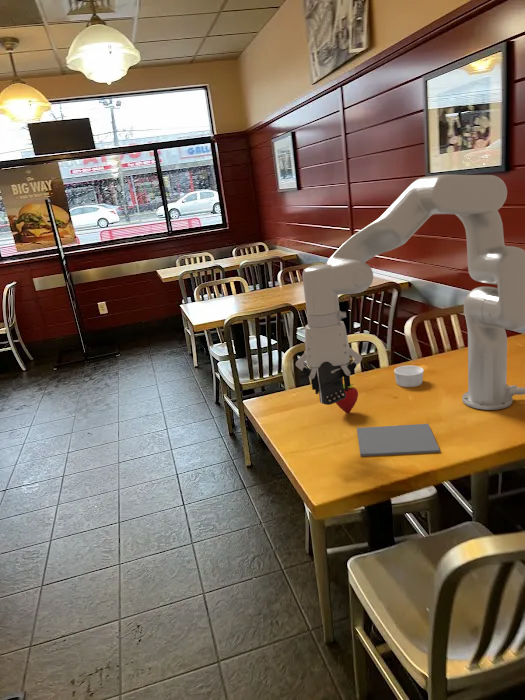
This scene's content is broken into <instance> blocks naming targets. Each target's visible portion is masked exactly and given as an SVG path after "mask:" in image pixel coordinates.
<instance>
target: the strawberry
mask: <svg viewBox="0 0 525 700" xmlns="http://www.w3.org/2000/svg"><path fill="white" fill-rule="evenodd" d="M343 387H344V391H345V386H344V383H343ZM345 394H346V398H344V399H342V400H340V401H338V402H336V403H335V404H336V405H337V406H338V408H339V409H340V410H342V411H343V412H344V413H345V414H349V413H351V411H352V410H353V408H354V407H355V405H356V403H357V401H358V399H359V398H358V397H359V393H358V389H357V388H356V387H355V386H354V383H350V387H348V391H347V392H346V391H345Z"/></svg>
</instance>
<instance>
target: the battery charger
mask: <svg viewBox="0 0 525 700" xmlns="http://www.w3.org/2000/svg"><path fill="white" fill-rule="evenodd" d="M316 375H317V383H318V389H319V393H318V395H319V402H320V403H321V404H323V405H332V404H333V405H334V404H336V402H338V401H340V400H342V399H344V398H346V394H345V391H344V387H343V384H344V376H343V375H344V371H343V369H342V368H341V366H333V365H332V364H331V363H330V362H323V363H322V364H321V365H320V367H319V368H317V371H316Z"/></svg>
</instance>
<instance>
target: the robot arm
mask: <svg viewBox="0 0 525 700" xmlns="http://www.w3.org/2000/svg"><path fill="white" fill-rule="evenodd" d="M507 195H508V188H507V185H506V183H505V182H504V180H503V179H502V178H500V177H498V176H496V175H493V174H436V175H429V176H423V177H419V178H417V179H415V180H414V181H413V182H411V184H409V186H408V187H407V188H406V189H405V190H403V192H402V193H401V194H400V195H399V196H398V197H397V198H396V199H395V200H394V201H393V202H392V204H390V206H389V207H388V208H386V210H385V211H384V212H383V213H382V214H381V215H380V216H379V217H378V218H376V220H374V221H373V222H370V224H368V225H367V226H365V227H364V228H362V229H361V230H360V231H357V232H356V233H355V234H353V235H352V236H350V237H349V238H348V239H347V240H346V241H345V242H344V243H342V244H341V246H340V247H339V248H337V250H336V251H335V252H334V253H333V254H332V255H331V256H330V257H329V259H328V260H327V261H326V263H325V264H317V265H315V264H314V265H312V266H308V267H306V268H304V270H303V271H302V282H303V283H302V284H303V293H304V302H305V309H306V310H305V311H306V317H307V324H306V325H305V328H304V345H305V351H304V352H303V354H302V355H301V356H300V357H299V358H298V360H296V362H295V368H296V367H297V368H298V369H299V370H300V371H302V372H303V374H305V375H306V376H308V377H309V379H310V381H311V388H312V389H311V391H315V392H314V393H315V395H319V389H318V383H317V375H316V371H317V368H319V367H320V365H321V364H322V363H323V362H330V363H331V364H332V365H333V366H341V368H342V369H343V371H344V375H343V384H344V386H345V391H346V392H347V391H348V387H350V384H351V379H350V378H351V377H350V375H351V373H353V371H354V370H355V369H356V368H357V366H358V365H359V364H360V363H361V362H362V361H363V357H362V355H361V354H360V353H358V352H356V351H355V350H354V349H352V347H350V346H349V339H348V332H347V328H346V325H345V323H344V321H343V320H342V319H345V318H347V312H346V311H341V310H340V305H339V304H340V303H339V295H351V294H359V293H360V294H361V293H363V292H364V291H365V292H366V290H367V289H369V288H370V287H371V285H372V284H373V280H374V271H373V269H372V267H371V266H370V265H369V264H367V263H366V262H367V261H370V260H371V259H373V258H374V257H376V256H378V255H380V254H383V253H387V252H390V251H392V250H395V249H397V248H399V247H401V246H403V245H405V244H406V243H407V242H408V241H409V239H411V237H413V235H414V234H415V233H416V232H417V231H418V230H419V229H420V228H421V227H422V226H423V225H424V224H425V223H426V222H427V221H428V219H430V217H432V216H433V215H455V216H456V217H457V218H458V219H459V220H460V222H462V224H463V227H464V229H465V238H466V256H467V269H468V274H469V276H470V278H471V279H472V280H474V281H475V282H479V283H484V284H487V285H489V284H490V285H495V286H497V287H493V286H478V287H475V288H473V289H472V290H470V291H469V292H468V293H467V294H466V295H465V297H464V298H465V299H464V301H463V302H464V303H463V313H464V317H465V321H466V328H467V372H468V373H467V383H468V386H467V388H468V389H467V391H466V392H464V393H463V394H462V397H461V398H462V403H463V404H465V405H466V406H468V407H470V408H473V409H476V410H484V411H497V410H501V409H506V408H509V407H510V406H511V405H512V404H513V401H514V400H513V397H514V395H517V396H518V395H519V396H521V395H523V396H524V395H525V387H524V386H522V387H518V385H516V384H515V385H514V384H512V385H509V384H507V371H508V370H507V369H508V367H507V365H508V364H507V363H508V361H507V359H508V358H507V357H508V336H507V333H506V330H508V331H518V330H522V329H524V328H525V249H522V248H521V247H518V246H513V245H512V246H510V245H509V246H508V245H505V238H504V226H503V225H504V224H503V221H502V217H501V214H500V212H499V210H500V209H501V208H502V207H503V205H504V203H506V200H507V197H508V196H507ZM350 357H352V359H353V358H354V359H353V360H352V361H351V362H350V360H351V358H350ZM304 362H306V363H307V366H306V365H305V364H304Z"/></svg>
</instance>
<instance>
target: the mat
mask: <svg viewBox="0 0 525 700" xmlns="http://www.w3.org/2000/svg"><path fill="white" fill-rule="evenodd" d="M356 434H357V439H358V440H357V441H358V448H359V454H360V457H375V456H376V457H378V456H392V455H394V456H395V455H397V456H398V455H412V454H413V455H414V454H415V455H416V453H417V455H418V454H432V453H433V454H434V453H436V452H438V453H441V450H440V447H439V444H438V443H437V440H436V438H435V436H434V434H433V431H432V429H431V427H430V424H429V423H419V424H418V423H416V424H403V425H402V424H400V425H399V424H398V425H384V426H369V427H368V426H367V427H356ZM436 454H437V453H436Z"/></svg>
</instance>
